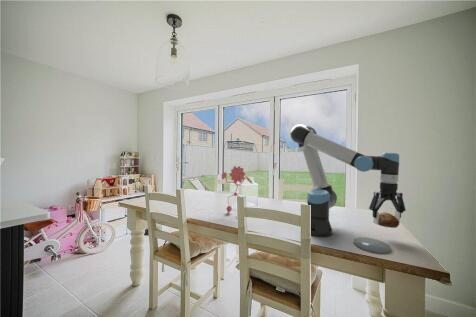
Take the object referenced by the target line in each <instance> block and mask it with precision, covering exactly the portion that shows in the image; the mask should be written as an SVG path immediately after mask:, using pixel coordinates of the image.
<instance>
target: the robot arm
mask: <svg viewBox="0 0 476 317" xmlns="http://www.w3.org/2000/svg"><path fill="white" fill-rule="evenodd" d="M289 136H290V139H291V140H292V141H293V142H294V143H296V144H297V145H298V147H299V148H298V149H299V150H302V153H303V156H304V159H305V162H306V166H307V169H308V172H309V175H310V179H311V183H312V185H313V187H312V188H311V189H310V190H309V191H308V192H307V196H306V199H307V204H308V205H311V235H310V236H313V237H314V236H315V237H319V238H320V237H321V238H322V237H323V238H327V237H331V236H332V234H333V229H332V225H331V222H330V209H331V208H333V207H334V206H335V205H336V203H337V200H338V195H337V193H336V191H334V190H333V188H332V184H331V183H328V180H327V177H326V174H325V171H324V168H323V164H322V160H321V158H320V154H319V152H321V153H322V154H325V155H326V156H327V155H328V156H330V157H332V158H334V159H336V160H338V161H340V162H342V163H345V164H346V165H349V166H351V167H353V168H355V169H356V170H358V172H362V173H363V172H364V173H365V172H368V171H380V177H379V181H380V183H379V189H380V190H379V191H373V196H372V199H371V203H370V205H369V207H368V209H369V210H370V211H372V218H373V221H372V222H373V224H375V225H378V221H379V214H380V211H379V210H380V208H381V207H382V205H384V202H386V201H391V203H392V205H393V207H394V209H395V210H394V216H395V217H396V218H397V219H398V221H399V225H400V222H401V221H400V220H401V219H402V214H403V213H404V212H406V211H407V210H406V205H405V202H404V197H403V193H402V192H400V191H398V185H399V184H398V182H399V169H400V168H399V167H400V154H399V153H397V152H382V153H381V156H380V155H378V156H376V155H364V154H362V153H360V152H358V151H356V150H353V149H350V148H349V147H345V146H343V145H341V144H339V143H337V142H334V141H332V140H330V139H327V138H325V137H322V136H321V135H318V133H317V131H316V130H315V128H313V127H312V126H309V125H304V124H301V123H300V124H296V125H295V126H293V127H292V128H291V130H290V135H289ZM378 226H379V225H378Z"/></svg>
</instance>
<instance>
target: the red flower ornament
mask: <svg viewBox="0 0 476 317" xmlns="http://www.w3.org/2000/svg"><path fill="white" fill-rule="evenodd" d="M228 175H229V177H231V178H230V180H231V181H227V180H228V179H227V176H228ZM228 175H227V172H225V171H224V172H222V174H221V176H220V177H221V179H222V180H224V179H225V183H227V184H230V183H231V184H235V185H236V189H235V192H233V194H232V195H229V197H227V203H228V206H227V207H226V211H227V212H226V215H227V216H228V214H229V213H230V212H231V211H233V208H232V206H230V203H229V201H230V200H229V198H231V197H233V196H234V197H238V196H239V195H238V193H237V190H238V186H241V185H242V184H243V183H244V181H245V180H247V181H248V182H249V183H250V184H252V185H253V181H252V180H251V179H250V178H249V177H248V176H246V172H244V167H241V166H240V165H239V166H236V165H234V166H233V168H231V169H230V173H229V174H228ZM239 183H240V184H239ZM235 211H237V209H236V210H235Z"/></svg>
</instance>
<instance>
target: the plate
mask: <svg viewBox="0 0 476 317" xmlns="http://www.w3.org/2000/svg"><path fill="white" fill-rule="evenodd" d="M353 245H354V246H355V247H357V248H359V249H360V250H363V251H365V252H368V253H374V254H387V253H390V252H391V246H390V245H389V244H388V243H386V242H384V241H382V240H380V239H376V238H374V237H373V238H372V237H364V236H359V237H355V238H354V239H353Z"/></svg>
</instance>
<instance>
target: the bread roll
mask: <svg viewBox="0 0 476 317" xmlns="http://www.w3.org/2000/svg"><path fill="white" fill-rule="evenodd" d="M378 226H380V227H384V228H391V229H394V228H395V229H396V228H398V227H399V226H400V224H399V221H398V219H397V218H396V217H395V215H393V214H392V213H389V212H379V221H378Z"/></svg>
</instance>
